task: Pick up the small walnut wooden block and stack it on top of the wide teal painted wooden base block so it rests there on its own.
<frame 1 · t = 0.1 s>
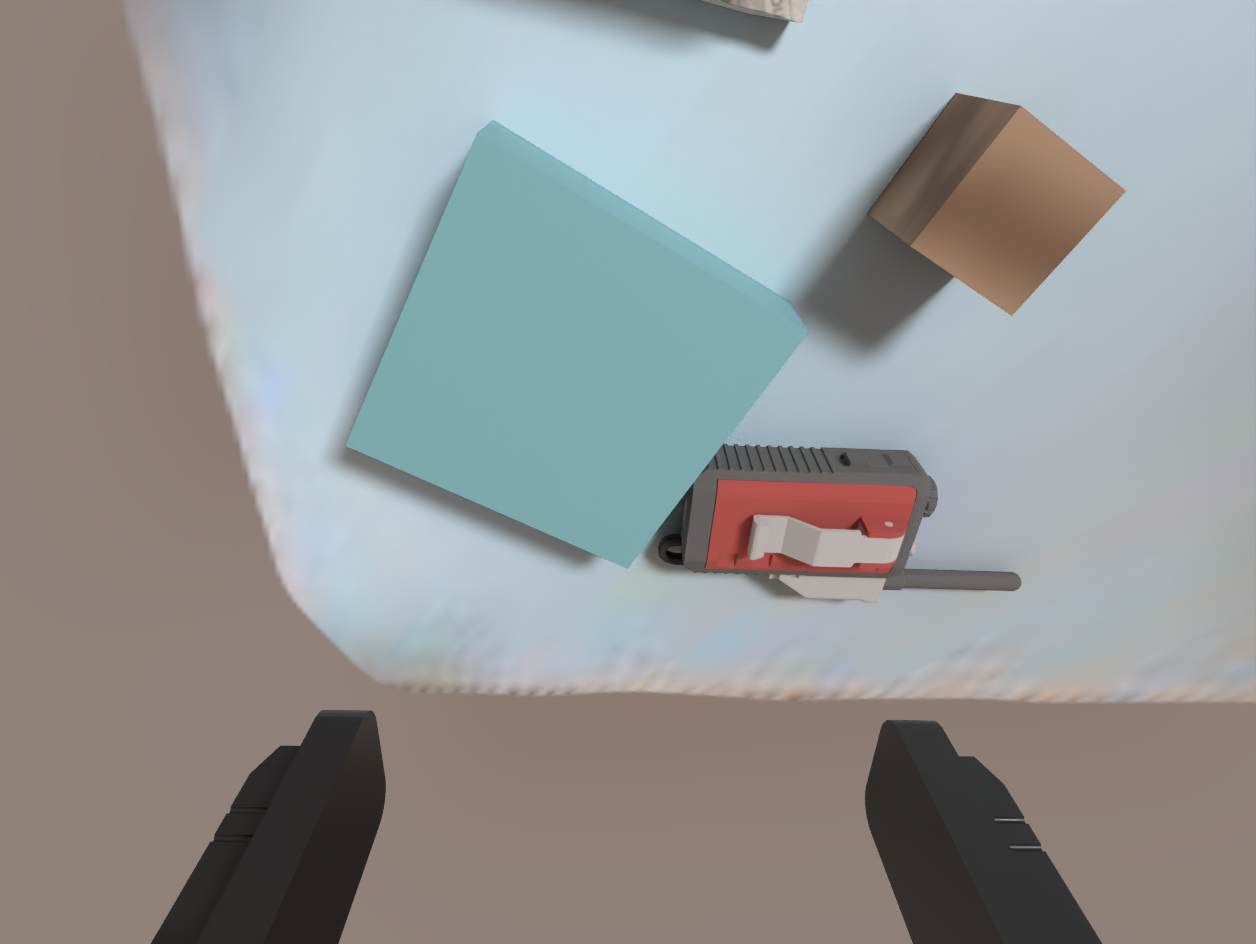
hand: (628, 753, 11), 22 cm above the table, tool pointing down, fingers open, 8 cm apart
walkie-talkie: (845, 510, 37), on the table
walnut block: (955, 189, 28), on the table
teal base block: (571, 352, 32), on the table
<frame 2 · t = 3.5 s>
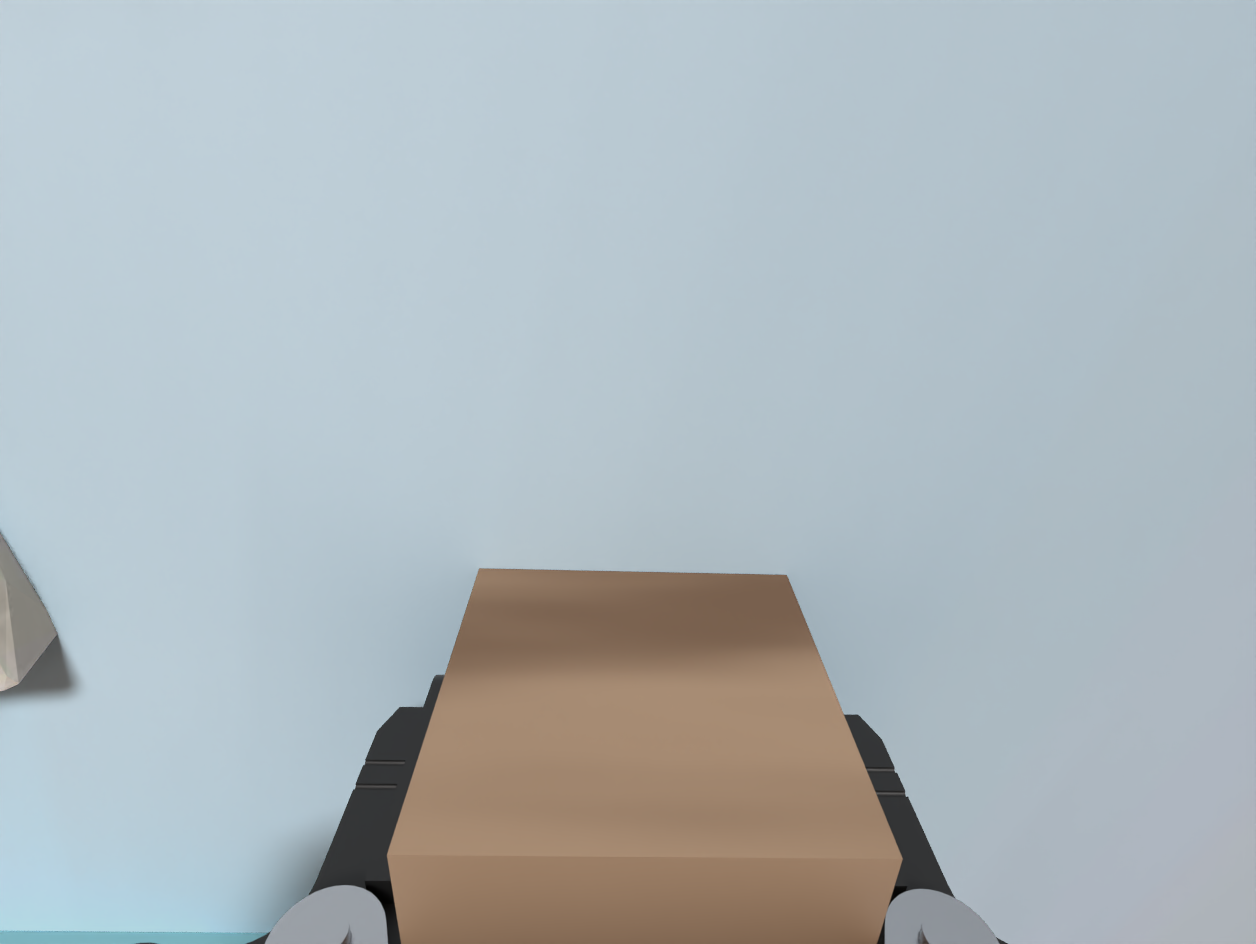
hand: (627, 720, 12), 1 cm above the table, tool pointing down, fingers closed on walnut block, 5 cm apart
walnut block: (628, 690, 12), on the table, touching gripper
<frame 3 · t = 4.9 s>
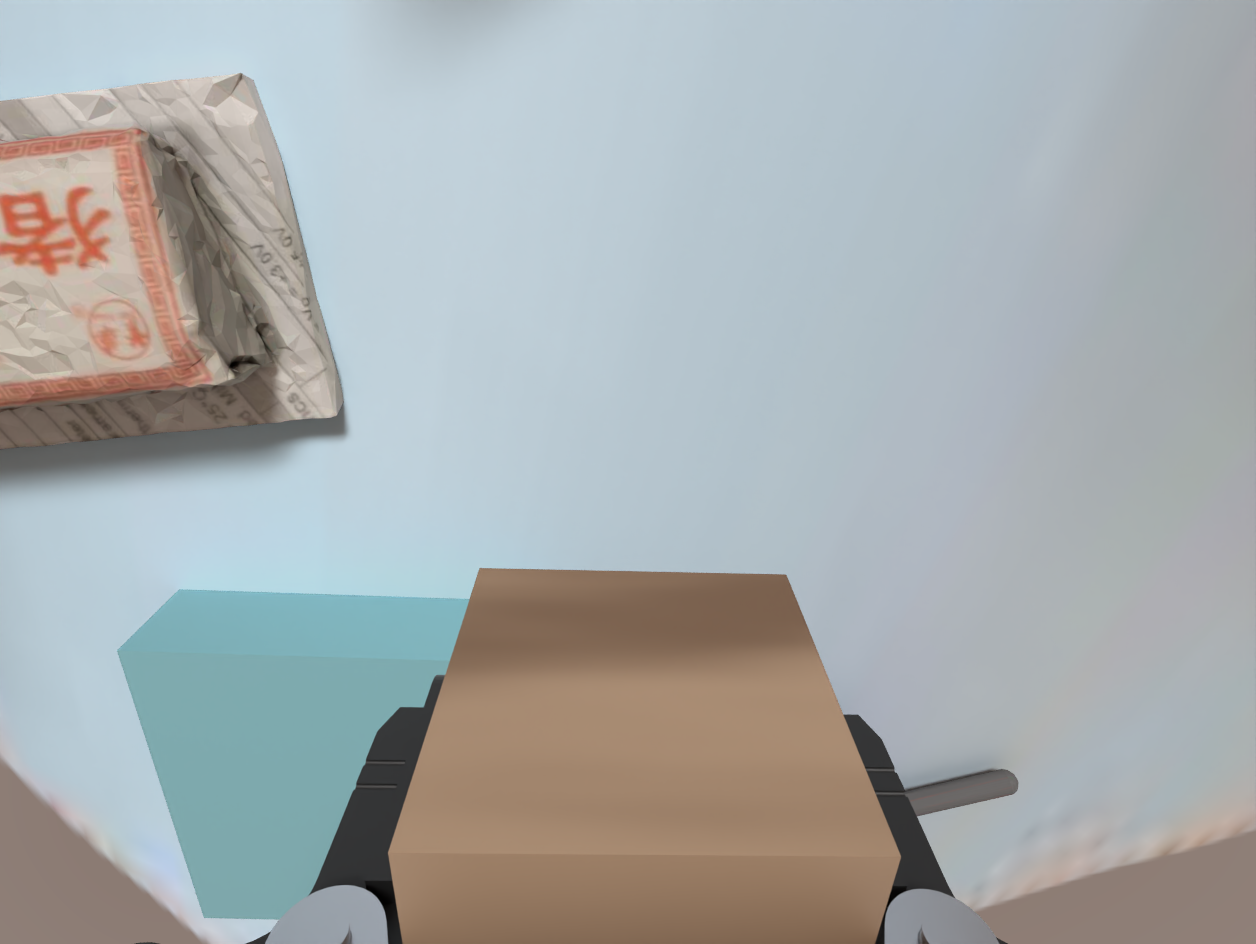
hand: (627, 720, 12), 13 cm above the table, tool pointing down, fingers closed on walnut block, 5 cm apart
packaged product: (46, 283, 22), on the table
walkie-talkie: (765, 752, 31), on the table
walnut block: (628, 690, 12), point 13 cm above the table, touching gripper
teal base block: (385, 724, 30), on the table
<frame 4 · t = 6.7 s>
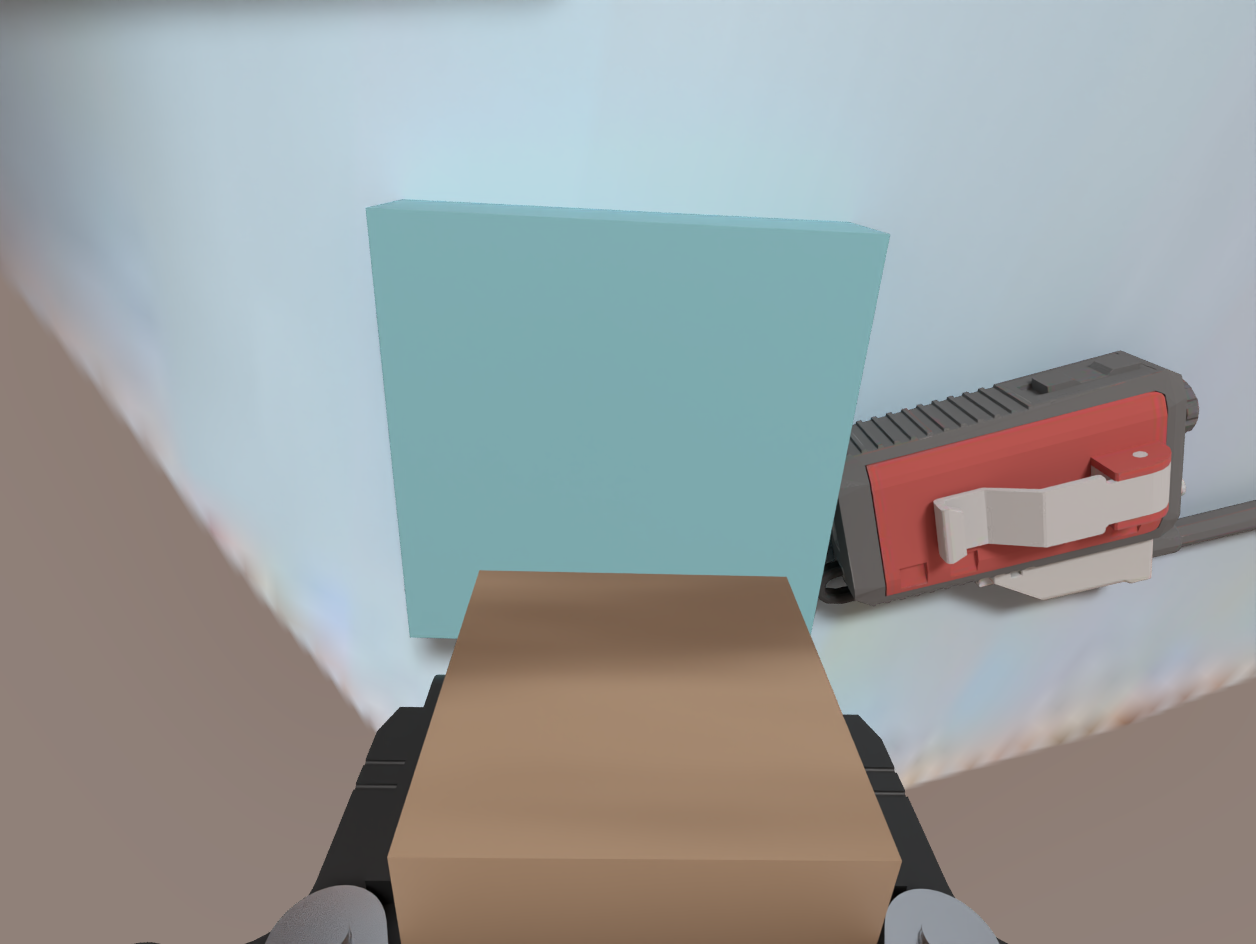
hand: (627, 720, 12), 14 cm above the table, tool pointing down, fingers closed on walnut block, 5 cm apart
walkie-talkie: (1054, 464, 26), on the table
walnut block: (628, 692, 12), point 14 cm above the table, touching gripper
teal base block: (619, 416, 25), on the table
when the fingers open (6 cm above the table, at t = 8.9 s): walnut block drops 2 cm, resting on teal base block.
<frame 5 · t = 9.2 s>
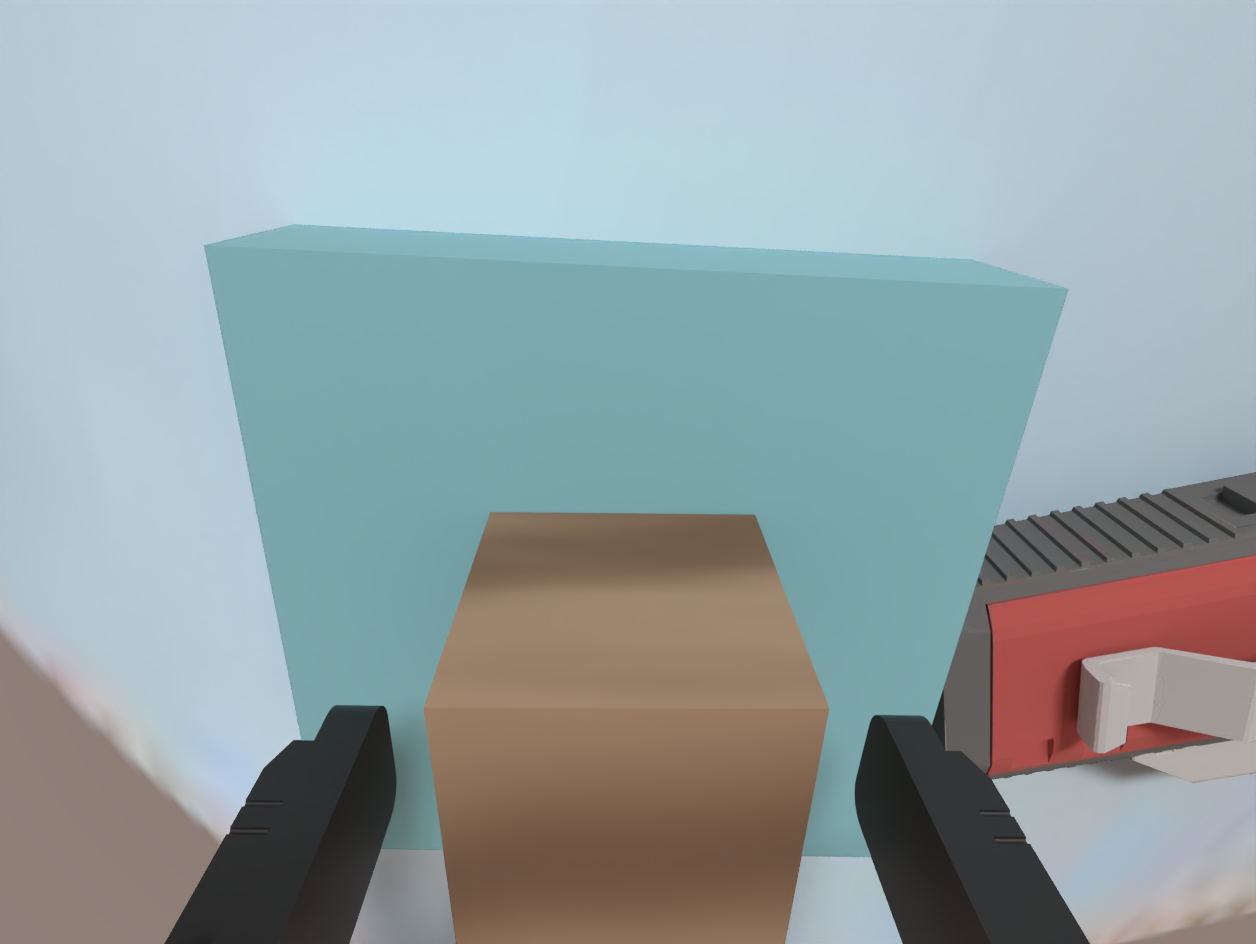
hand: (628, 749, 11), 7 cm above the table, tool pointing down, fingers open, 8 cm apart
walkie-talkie: (1215, 594, 19), on the table
walnut block: (621, 621, 14), point 3 cm above the table, touching teal base block
teal base block: (622, 524, 18), on the table, touching walnut block
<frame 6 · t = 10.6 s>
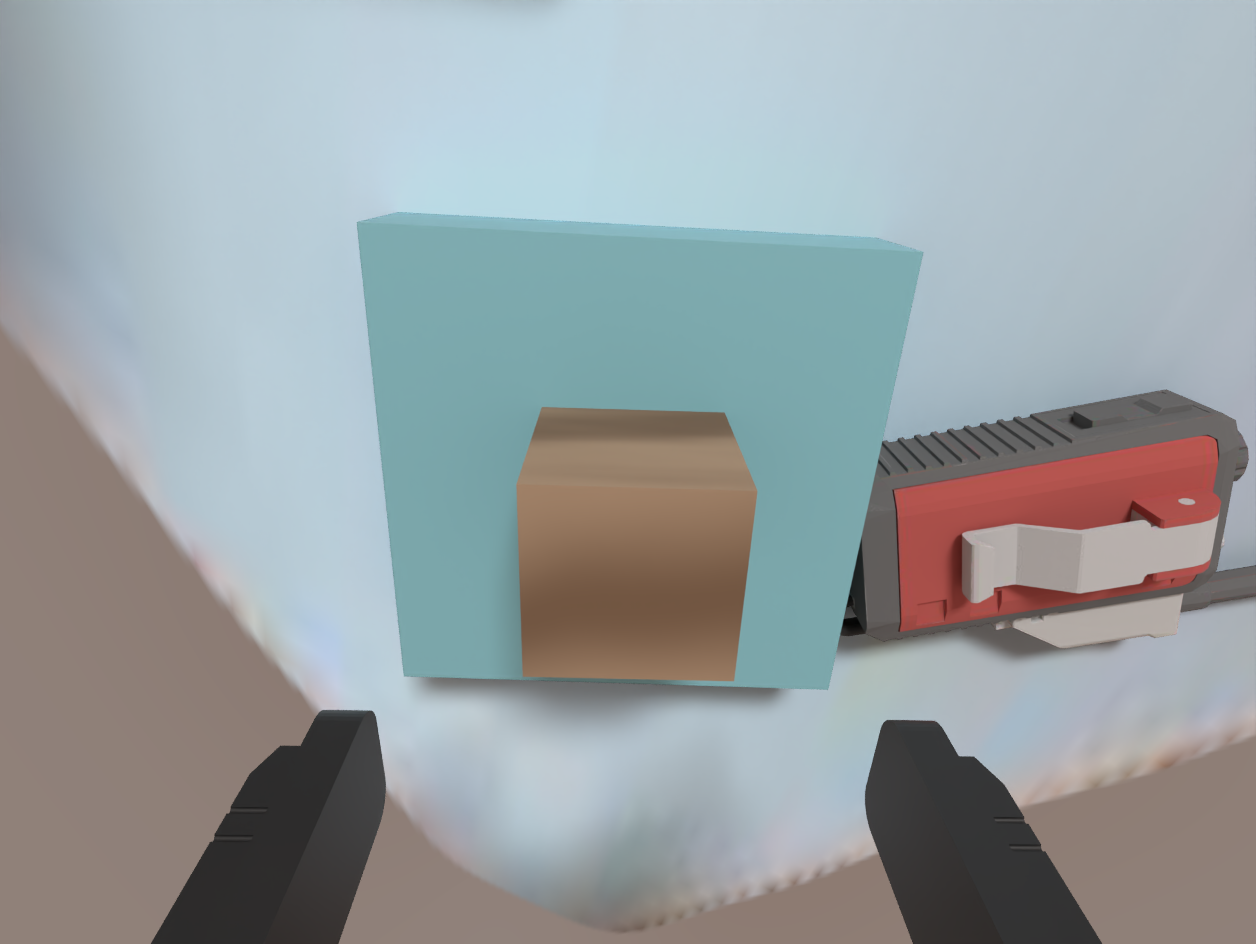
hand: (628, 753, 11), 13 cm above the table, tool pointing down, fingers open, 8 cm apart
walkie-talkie: (1082, 505, 25), on the table
walnut block: (630, 492, 20), point 3 cm above the table, touching teal base block
teal base block: (627, 440, 24), on the table, touching walnut block
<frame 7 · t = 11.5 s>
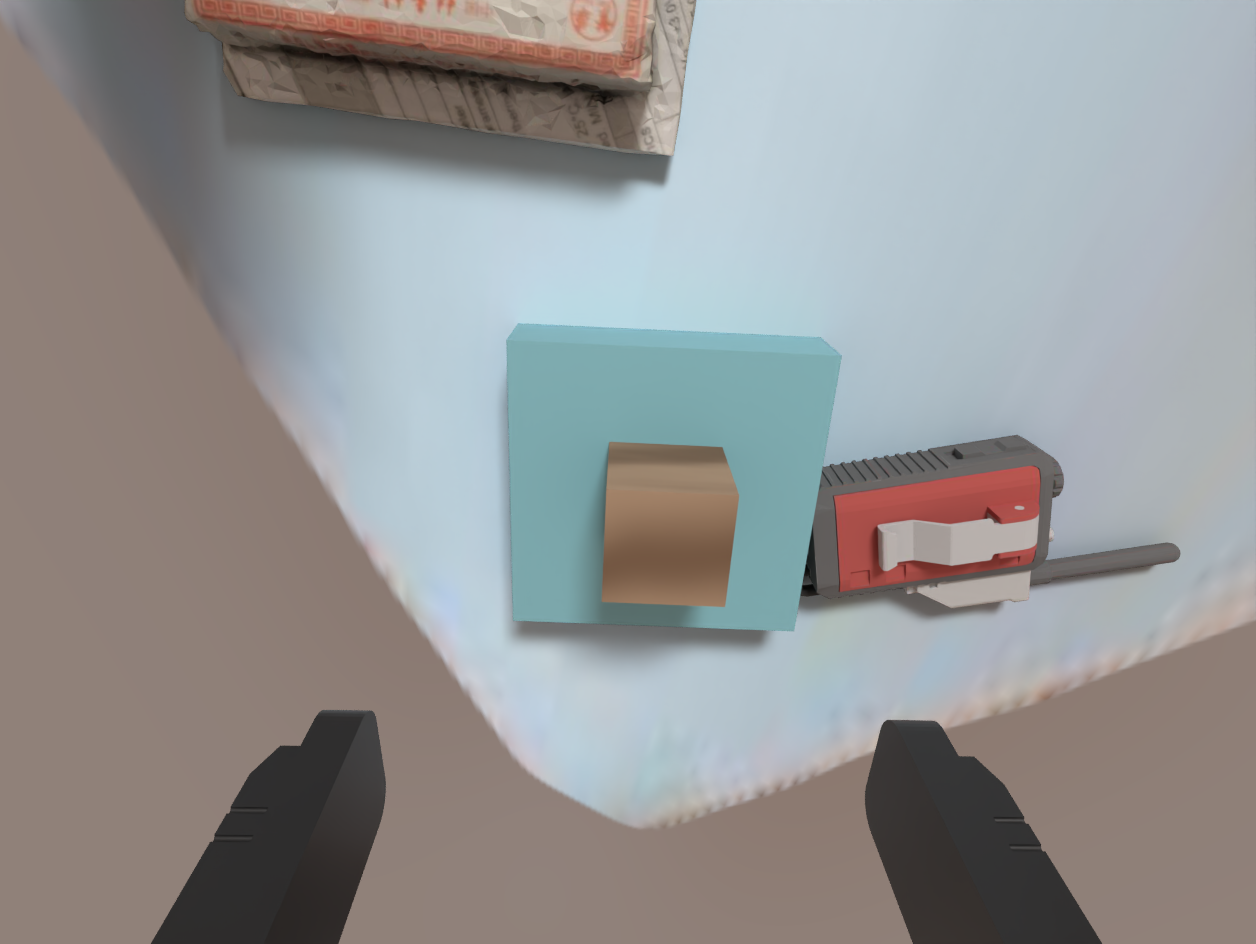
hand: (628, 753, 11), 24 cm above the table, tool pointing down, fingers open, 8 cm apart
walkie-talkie: (968, 510, 36), on the table
walnut block: (661, 495, 31), point 3 cm above the table, touching teal base block
teal base block: (659, 465, 35), on the table, touching walnut block
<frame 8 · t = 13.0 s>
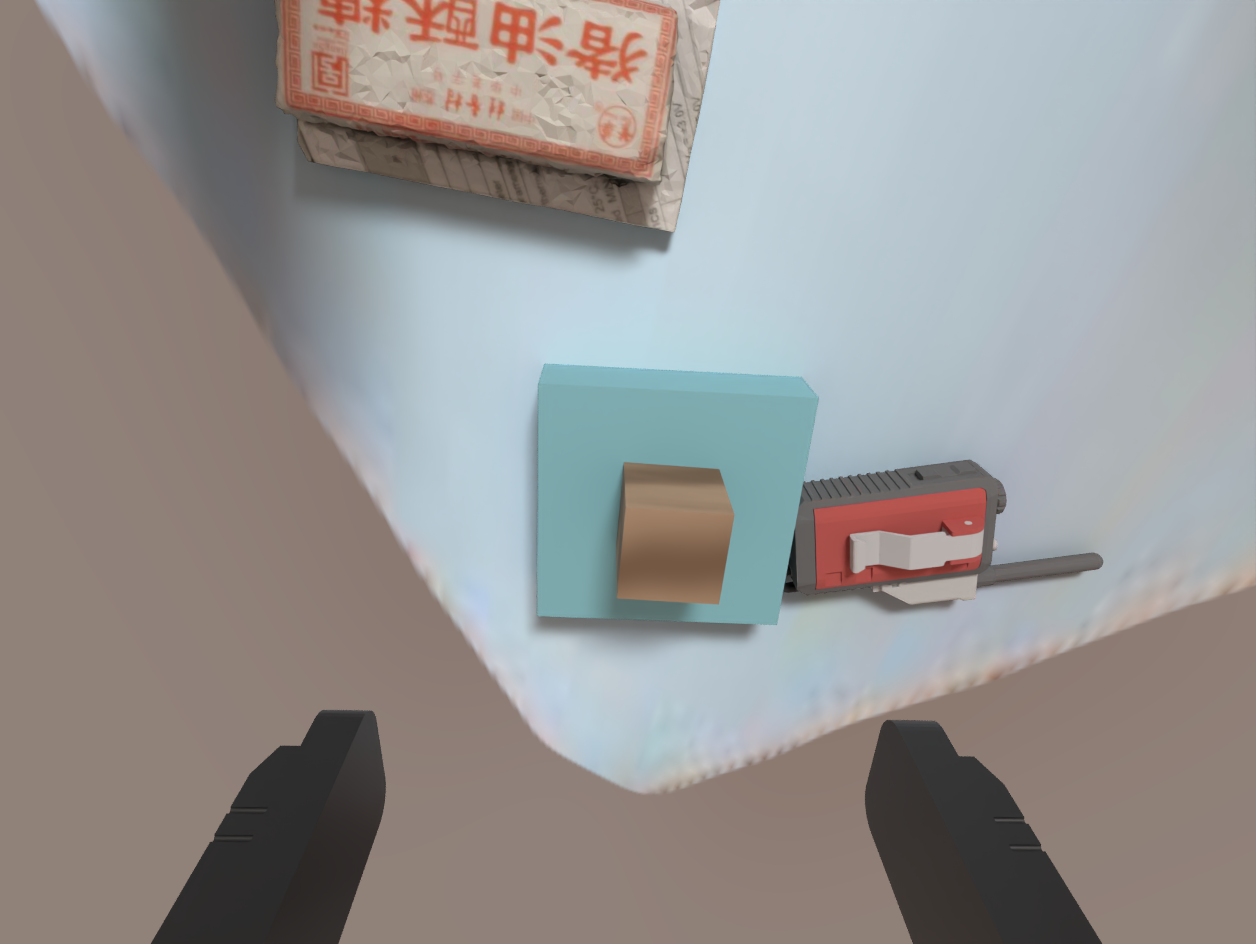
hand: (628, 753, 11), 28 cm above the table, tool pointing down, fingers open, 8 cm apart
packaged product: (507, 83, 32), on the table
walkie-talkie: (927, 522, 42), on the table
walnut block: (666, 507, 37), point 3 cm above the table, touching teal base block
teal base block: (663, 482, 41), on the table, touching walnut block
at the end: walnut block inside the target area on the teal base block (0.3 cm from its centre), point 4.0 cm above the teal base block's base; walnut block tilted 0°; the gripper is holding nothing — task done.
